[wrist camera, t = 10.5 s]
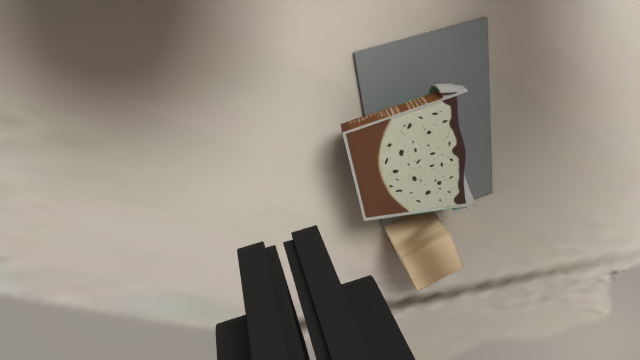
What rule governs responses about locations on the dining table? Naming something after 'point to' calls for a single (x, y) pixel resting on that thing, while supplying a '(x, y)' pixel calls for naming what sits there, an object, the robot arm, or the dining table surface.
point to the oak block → (423, 248)
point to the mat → (437, 68)
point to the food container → (410, 156)
